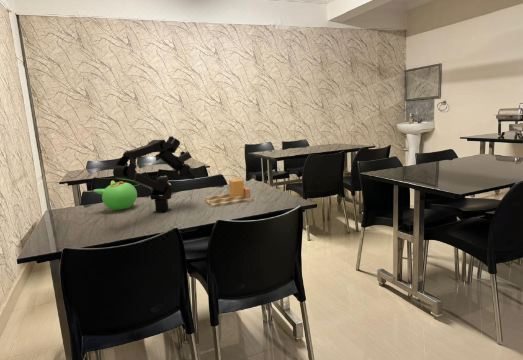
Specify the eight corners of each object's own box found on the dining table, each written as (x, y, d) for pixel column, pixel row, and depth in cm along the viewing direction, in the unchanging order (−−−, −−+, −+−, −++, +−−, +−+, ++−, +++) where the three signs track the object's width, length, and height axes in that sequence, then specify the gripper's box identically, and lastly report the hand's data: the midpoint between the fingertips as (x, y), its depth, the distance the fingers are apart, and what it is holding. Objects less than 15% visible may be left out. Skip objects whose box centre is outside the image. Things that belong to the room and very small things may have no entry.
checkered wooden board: (211, 207, 182) (211, 201, 182) (204, 201, 195) (204, 196, 195) (252, 200, 191) (252, 195, 190) (243, 195, 203) (242, 190, 203)
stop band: (246, 198, 190) (246, 189, 189) (239, 194, 201) (238, 185, 200) (250, 198, 191) (249, 189, 190) (242, 194, 202) (241, 185, 201)
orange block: (233, 198, 191) (232, 182, 189) (229, 196, 196) (228, 180, 194) (244, 197, 193) (243, 180, 191) (240, 195, 198) (239, 178, 197)
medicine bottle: (169, 198, 208) (166, 177, 205) (156, 198, 208) (154, 178, 205) (172, 195, 215) (170, 175, 212) (160, 195, 215) (158, 175, 212)
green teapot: (125, 213, 179) (121, 184, 177) (95, 213, 183) (91, 185, 180) (144, 204, 197) (141, 177, 194) (116, 204, 200) (112, 177, 197)
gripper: (184, 148, 175) (208, 168, 181) (177, 145, 192) (199, 164, 198) (169, 166, 173) (194, 186, 179) (163, 162, 190) (186, 180, 196)
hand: (194, 178), depth 188 cm, fingers closed
